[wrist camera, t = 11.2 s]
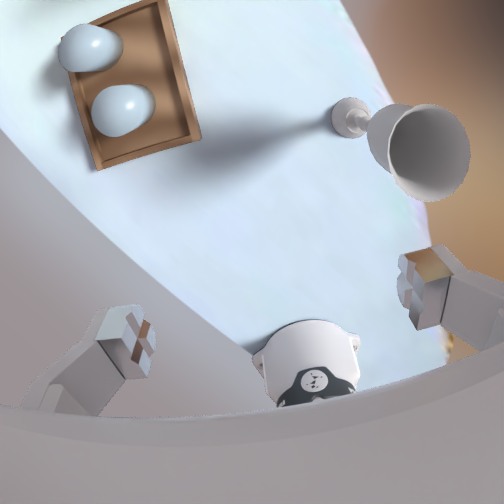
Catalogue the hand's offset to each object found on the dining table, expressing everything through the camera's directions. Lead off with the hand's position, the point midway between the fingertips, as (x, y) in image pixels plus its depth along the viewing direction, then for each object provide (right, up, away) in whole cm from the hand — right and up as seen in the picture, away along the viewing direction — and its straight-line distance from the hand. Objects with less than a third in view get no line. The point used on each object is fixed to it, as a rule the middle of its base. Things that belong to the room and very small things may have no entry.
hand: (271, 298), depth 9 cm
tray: (-14, +21, +21) cm, 33 cm away
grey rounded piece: (-14, +18, +22) cm, 31 cm away
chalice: (+11, +17, +24) cm, 32 cm away
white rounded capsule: (-17, +24, +18) cm, 35 cm away
